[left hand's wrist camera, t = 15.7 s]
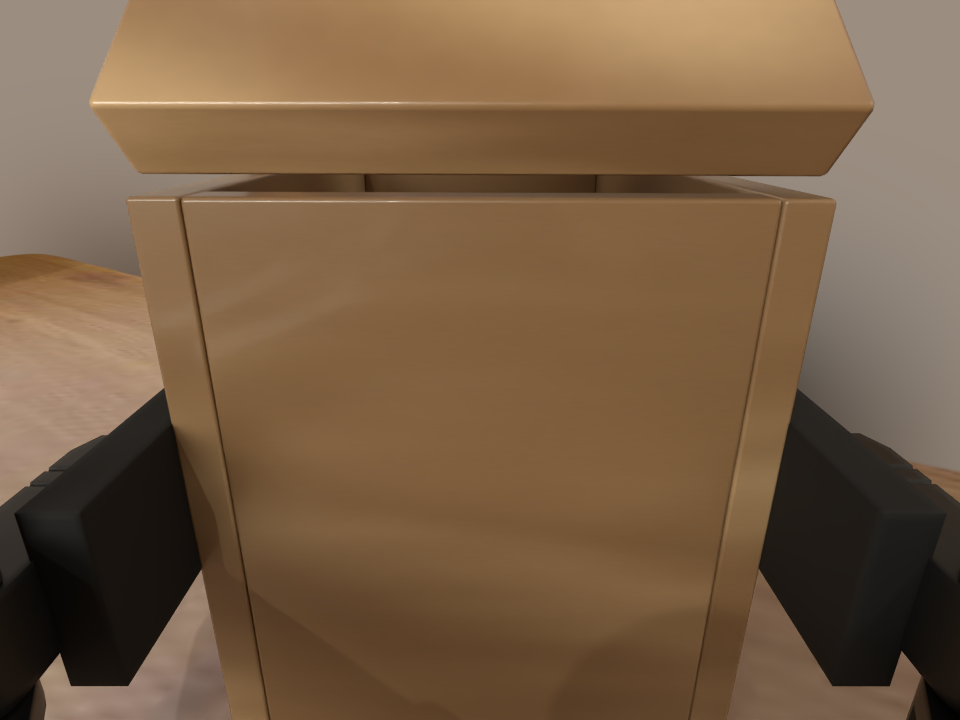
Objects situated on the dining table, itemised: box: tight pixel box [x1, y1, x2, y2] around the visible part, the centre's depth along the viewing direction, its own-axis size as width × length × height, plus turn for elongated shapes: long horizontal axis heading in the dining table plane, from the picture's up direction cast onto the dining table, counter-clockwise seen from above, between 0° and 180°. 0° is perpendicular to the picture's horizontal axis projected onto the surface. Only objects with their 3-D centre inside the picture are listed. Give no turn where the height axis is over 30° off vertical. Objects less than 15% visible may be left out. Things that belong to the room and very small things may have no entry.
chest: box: [126, 174, 836, 720], centre depth 16 cm, size 14×9×11 cm, turn 0°
